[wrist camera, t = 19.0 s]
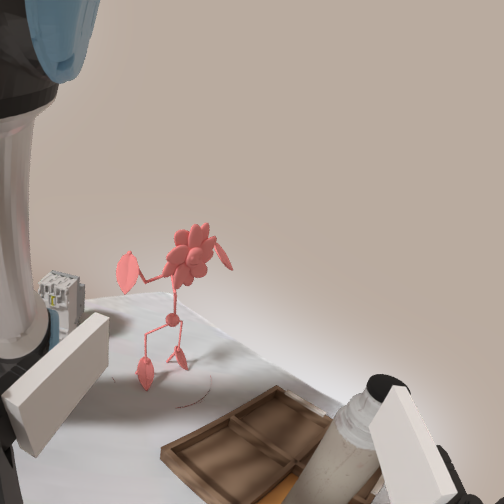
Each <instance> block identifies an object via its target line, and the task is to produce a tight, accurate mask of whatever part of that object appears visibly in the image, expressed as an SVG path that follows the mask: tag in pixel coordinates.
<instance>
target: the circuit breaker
mask: <svg viewBox="0 0 504 504" xmlns="http://www.w3.org/2000/svg"><path fill="white" fill-rule="evenodd" d="M56 274H57V275H56ZM79 280H80V277H78V276H74V275H70V274H66V273H62V272H57V271H53V270H52V271H51V272H50V273H49V274H47V275H46V276H45V277H44V278H43V279H41V281H40V282H38V284H40V288H39V289H38V294H39V295H40V293H41V295H40V296H41V298H42V299H43V301H44V303H45V305H46V308H50V309H52V310H56V311H57V312H58V314H59V342H61V341H62V340H63V339H64V338H65V337H66V336H68V335H69V334H70V333H71V332H72V331H73V330H75V329H76V328H77V327H78V326H79V325H78V323H79V318H80V316H81V315H82V313H83V312H84V300H85V284H81V283H79Z"/></svg>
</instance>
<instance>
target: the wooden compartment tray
mask: <svg viewBox="0 0 504 504" xmlns="http://www.w3.org/2000/svg"><path fill="white" fill-rule="evenodd" d="M332 421H333V419H331V418H330V417H328V416H326V412H324V411H323V410H321V409H319V408H318V407H316V406H314V405H312V404H311V403H309V402H307V401H306V400H304V399H303V398H301V397H299V396H298V395H296V394H294V393H293V392H291V391H290V390H287V391H285V390H283V389H282V388H280V387H279V386H277V385H276V386H274V387H272V388H271V389H269V390H267V391H266V392H264V393H263V394H261V395H259V396H257V397H256V398H254V399H252V400H251V401H249V402H247V403H246V404H244V405H242V406H240V407H239V408H237V409H235V410H233V411H231V412H230V413H228V414H226V415H224V416H222V417H220V418H219V419H217V420H215V421H213V422H211V423H209V424H207V425H205V426H203V427H202V428H200V429H198V430H196V431H194V432H192V433H190V434H188V435H186V436H184V437H182V438H179V439H177V440H175V441H173V442H171V443H169V444H167V445H165V446H162V447H161V454H160V459H161V460H162V461H163V462H164V463H165V464H166V466H167V467H168V468H169V469H170V470H171V471H172V472H173V473H174V474H175V475H176V476H177V477H179V478H180V479H181V480H182V481H183V482H184V483H185V484H186V485H187V486H188V487H189V488H190V489H191V490H192V491H193V492H194V493H196V494H197V495H198V496H199V497H200V498H201V499H202V500H203V501H205V502H206V503H207V504H281V503H282V502H283V500H284V499H285V497H286V496H287V494H288V493H289V491H290V490H291V488H292V487H293V486H294V484H295V483H296V481H297V480H298V478H299V477H300V475H301V473H302V472H303V470H304V468H305V467H306V465H307V464H308V462H309V460H310V459H311V457H312V455H313V454H314V452H315V450H316V449H317V447H318V445H319V444H320V442H321V440H322V438H323V437H324V435H325V433H326V431H327V430H328V428H329V426H330V424H331V422H332ZM384 482H385V481H384V477H383V474H382V470H381V467H380V466H379V467H378V469H377V470H376V471H375V472H374V474H373V475H372V476H371V477H370V479H369V480H368V481H367V482H366V483H365V484H364V486H363V487H362V488H361V489H360V490H359V491H358V492H357V493H356V494H355V496H354V497H353V498H352V499H351V500H350V501H349V502H348V504H371V502H372V500H373V499H374V497H375V495H377V494H378V492H379V491H380V489H381V487H382V486H383V484H384Z"/></svg>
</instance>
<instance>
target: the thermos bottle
mask: <svg viewBox="0 0 504 504" xmlns="http://www.w3.org/2000/svg"><path fill="white" fill-rule="evenodd" d="M393 385H395V386H404V387H406V388H407V390H408V392H409V393H410V390H409V388H408V387H407V386H406V385H405V384H404V383H403V382H402V381H400V380H398V379H396V378H394V377H392V376H389V375H384V374H376V375H373V376H371V377H370V379H369V380H368V382H367V387H366V388H365V390H364V392H363V393H359V394H357V395H355V396H353V397H352V399H351V400H350V402H348V404H347V405H346V406H343V407H342V408H340V409H339V410H338V412H337V413H336V415H335V417H334V419H333V421H332V422H331V424H330V426H329V428H328V430H327V431H326V433H325V435H324V437H323V438H322V440H321V442H320V444H319V445H318V447H317V449H316V450H315V452H314V454H313V455H312V457H311V459H310V460H309V462H308V464H307V465H306V467H305V468H304V470H303V472H302V473H301V475H300V477H299V478H298V480H297V481H296V483H295V484H294V486H293V487H292V488H291V490H290V491H289V493H288V494H287V496H286V497H285V499H284V500H283V502H282V503H281V504H348V502H349V501H350V500H351V499H352V498H353V497H354V496H355V494H356V493H357V492H358V491H359V490H360V489H361V488H362V487H363V486H364V484H365V483H366V482H367V481H368V480H369V479H370V477H371V476H372V475H373V474H374V472H375V471H376V470H377V469H378V467H379V466H380V463H379V460H378V456H377V453H376V450H375V446H374V443H373V440H372V436H371V433H370V430H369V427H368V426H369V425H370V423H371V422H372V420H373V418H374V417H375V415H376V413H377V412H378V410H379V408H380V407H381V405H382V403H383V402H384V400H385V398H386V397H387V395H388V393H389V391H390V389H391V388H392V386H393ZM410 395H411V393H410Z"/></svg>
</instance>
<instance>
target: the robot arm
mask: <svg viewBox="0 0 504 504" xmlns="http://www.w3.org/2000/svg"><path fill="white" fill-rule="evenodd" d="M99 3H100V0H0V504H23V500H22V496H21V491H20V487H19V482H18V476H17V471H16V465H15V459H14V452H13V447H12V443H13V442H14V441H15V440H16V439H17V442H18V444H19V447H20V448H21V449H22V450H24V451H25V452H27V453H29V454H30V455H32V456H33V457H35V458H37V457H38V455H39V454H40V453H41V451H42V450H43V449H44V447H45V446H46V445H47V443H48V442H49V441H50V439H51V438H52V437H53V435H54V434H55V433H56V431H57V430H58V429H59V427H60V426H61V425H62V424H63V422H64V421H65V420H66V418H67V417H68V416H69V414H70V413H71V412H72V411H73V409H74V408H75V407H76V405H77V404H78V403H79V402H80V400H81V399H82V398H83V397H84V395H85V394H86V393H87V392H88V390H89V389H90V388H91V387H92V385H93V384H94V383H95V382H96V380H97V379H98V378H99V377H100V375H101V374H102V373H103V372H104V370H105V369H106V368H107V367H108V349H109V319H110V317H107V316H104V315H102V314H99V313H96V312H95V313H93V314H92V315H91V316H90V317H89V318H88V319H86V320H85V321H84V322H83V323H82V324H80V325H79V326H78V327H77V328H76V329H75V330H73V331H72V332H71V333H70V334H69V335H68V336H66V337H65V338H64V339H63V340H62V341H61V342H59V314H58V312H57V311H56V310H52V309H50V308H46V305H45V303H44V301H43V299H42V298H41V296H40V295H39V294H38V293H37V292H36V291H35V290H34V288H33V279H32V270H31V259H30V245H29V212H28V210H29V209H28V208H29V207H28V206H29V205H28V203H29V171H30V156H31V145H32V135H33V127H34V120H35V118H36V117H37V116H38V115H39V114H40V113H42V112H43V111H44V110H45V109H46V108H48V107H49V106H50V105H51V104H52V103H53V102H54V101H55V98H56V95H57V90H58V86H59V84H61V83H65V82H66V81H71V80H73V79H75V78H76V77H77V76H78V74H79V73H80V71H81V68H82V66H83V63H84V60H85V57H86V53H87V48H88V44H89V39H90V38H91V35H92V31H93V27H94V23H95V19H96V15H97V11H98V7H99ZM368 427H369V430H370V433H371V436H372V440H373V443H374V446H375V450H376V453H377V456H378V460H379V463H380V467H381V470H382V474H383V477H384V481H385V484H386V488H387V492H388V495H389V499H390V503H391V504H483V503H482V501H481V500H480V499H479V498H478V497H477V496H475V495H472V494H467V493H466V491H465V489H464V487H463V485H462V482H461V480H460V478H459V476H458V474H457V472H456V470H454V469H455V468H454V466H453V464H452V463H451V459H450V457H449V456H448V453H447V452H446V451H445V450H444V449H443V448H442V447H441V446H440V445H435V443H434V440H433V438H432V436H431V434H430V432H429V430H428V428H427V426H426V424H425V422H424V420H423V418H422V417H421V414H420V413H419V411H418V409H417V407H416V405H415V403H414V401H413V399H412V397H411V395H410V393H409V392H408V390H407V388H406V387H404V386H395V385H393V386H392V388H391V389H390V391H389V393H388V395H387V397H386V398H385V400H384V402H383V403H382V405H381V407H380V408H379V410H378V412H377V413H376V415H375V417H374V418H373V420H372V422H371V423H370V425H369V426H368ZM495 504H504V497H503V498H501V499H500V500H499V501H498V502H497V503H495Z"/></svg>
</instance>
